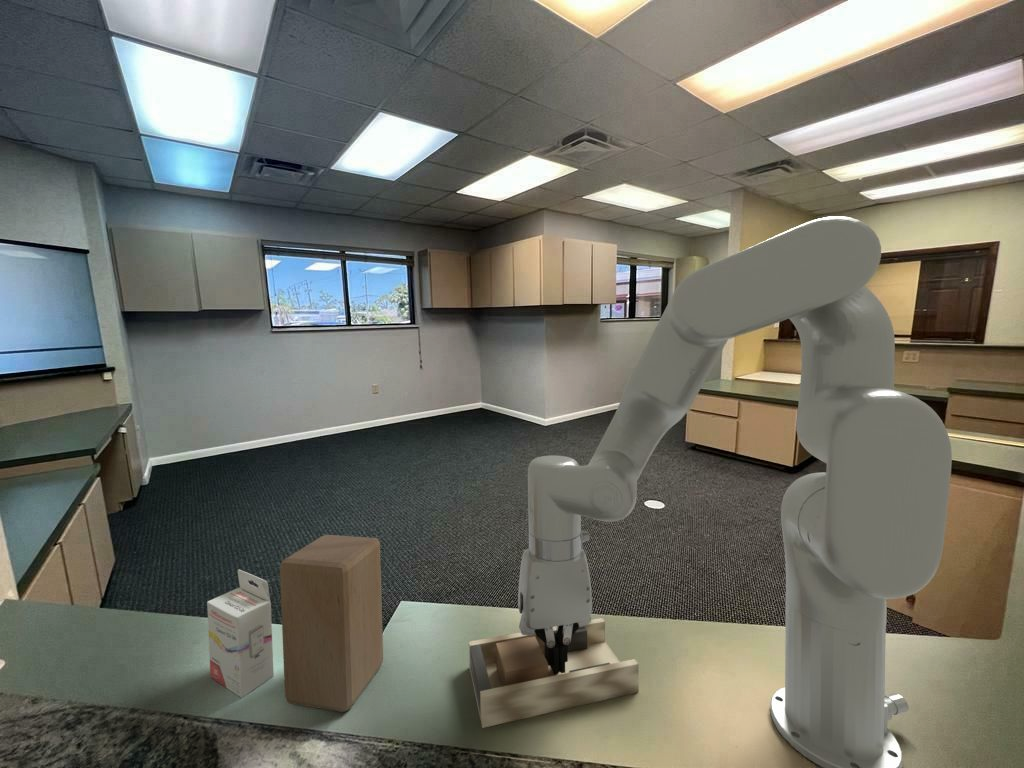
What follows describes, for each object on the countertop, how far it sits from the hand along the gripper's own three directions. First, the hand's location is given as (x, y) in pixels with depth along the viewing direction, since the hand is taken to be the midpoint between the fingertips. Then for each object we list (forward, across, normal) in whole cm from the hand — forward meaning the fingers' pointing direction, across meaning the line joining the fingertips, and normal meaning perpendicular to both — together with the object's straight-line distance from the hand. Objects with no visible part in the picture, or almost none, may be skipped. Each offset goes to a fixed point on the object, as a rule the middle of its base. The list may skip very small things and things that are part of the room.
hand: (556, 666), depth 60 cm
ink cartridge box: (+2, +45, -12) cm, 47 cm away
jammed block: (+2, +5, 0) cm, 6 cm away
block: (+2, +31, -7) cm, 32 cm away
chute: (+2, +1, 0) cm, 2 cm away
